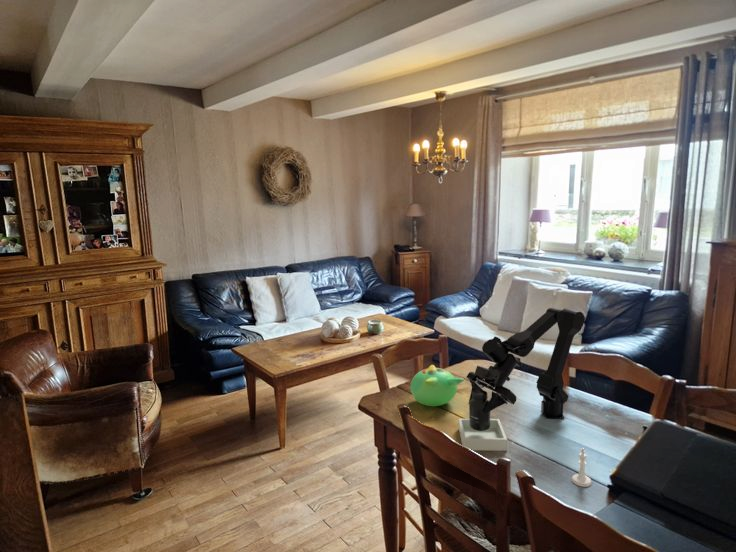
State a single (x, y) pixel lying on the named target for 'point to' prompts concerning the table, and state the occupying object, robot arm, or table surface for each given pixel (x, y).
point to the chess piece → (582, 472)
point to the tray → (483, 436)
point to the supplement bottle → (479, 411)
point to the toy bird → (434, 386)
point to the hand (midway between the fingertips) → (476, 408)
